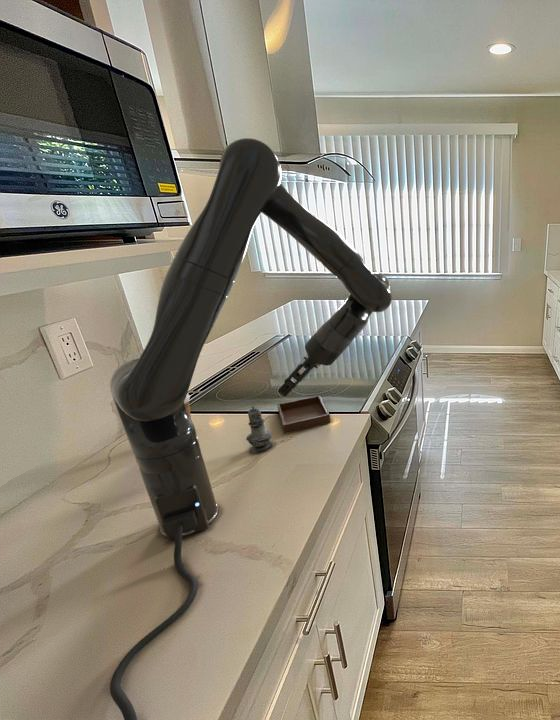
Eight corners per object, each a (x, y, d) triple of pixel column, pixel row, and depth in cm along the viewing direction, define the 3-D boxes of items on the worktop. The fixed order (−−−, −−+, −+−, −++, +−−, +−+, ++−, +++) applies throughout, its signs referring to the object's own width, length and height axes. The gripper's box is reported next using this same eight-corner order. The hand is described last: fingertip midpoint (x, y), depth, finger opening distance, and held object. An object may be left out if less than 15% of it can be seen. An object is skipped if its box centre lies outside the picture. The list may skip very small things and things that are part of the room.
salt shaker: (255, 456, 98) (245, 413, 94) (244, 448, 102) (235, 406, 98) (278, 446, 103) (270, 404, 99) (267, 438, 106) (259, 398, 102)
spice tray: (330, 422, 115) (329, 414, 114) (284, 433, 109) (283, 425, 108) (320, 402, 127) (319, 395, 126) (278, 411, 121) (277, 404, 120)
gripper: (327, 322, 98) (289, 365, 102) (305, 339, 85) (261, 388, 89) (351, 342, 100) (312, 384, 104) (333, 362, 87) (289, 409, 91)
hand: (289, 386), depth 96 cm, fingers open, 8 cm apart
